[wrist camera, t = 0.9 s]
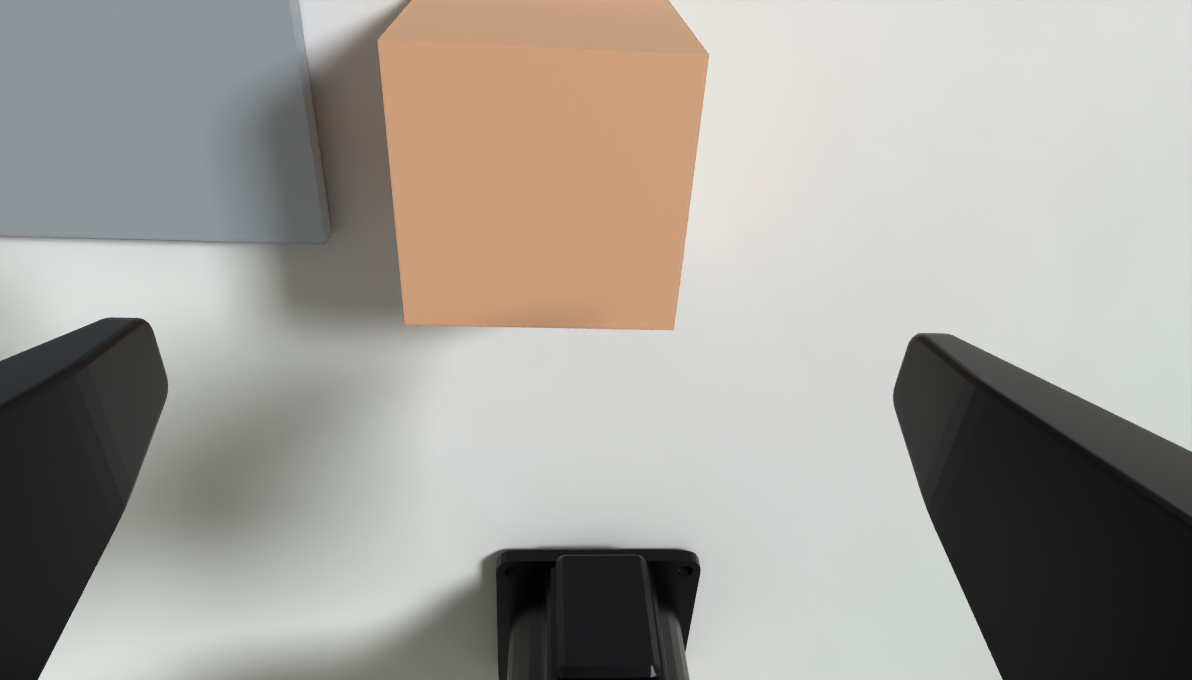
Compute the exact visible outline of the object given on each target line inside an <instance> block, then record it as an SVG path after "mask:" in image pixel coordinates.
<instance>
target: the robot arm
mask: <svg viewBox="0 0 1192 680" xmlns="http://www.w3.org/2000/svg"><path fill="white" fill-rule="evenodd" d="M167 393H168V380H167V375H166V372H165V368H164V365H163V362H162V358H161V355H160V352H159V348H158V345H157V342H156V338H155V335H154V332H153V330H152V327H151V326H150V324H149V323H148V322H146V321H145V320H143V319H140V318H105V319H102V320H99V321H97V322H94V323H92V324H89V325H87V326H85V327H82V328H80V329H77V330H75V331H72V332H70V333H68V334H65V335H63V336H60V337H58V338H55V339H53V340H51V341H48V342H46V343H43V344H41V345H38V346H36V347H34V348H31V349H29V350H26V351H24V352H21V353H19V354H17V355H14V356H12V357H9V358H7V359H4V360H2V361H0V680H38V678H39V676H40V674H41V673H42V671H43V669H44V667H45V665H46V663H47V661H48V659H49V657H50V655H51V653H52V651H53V649H54V647H55V645H56V643H57V641H58V639H59V637H60V636H61V634H62V632H63V630H64V628H65V626H66V624H67V622H68V620H69V618H70V616H71V614H72V612H73V610H74V608H75V606H76V604H77V602H78V600H79V599H80V597H81V595H82V593H83V591H84V589H85V587H86V585H87V583H88V581H89V579H90V577H91V575H92V573H93V571H94V569H95V567H96V565H97V563H98V561H99V560H100V558H101V556H102V554H103V552H104V550H105V548H106V546H107V544H108V542H109V540H110V538H111V536H112V534H113V532H114V530H115V528H116V526H117V524H118V522H119V520H120V518H121V516H122V514H123V512H124V510H125V508H126V505H127V503H128V500H129V498H130V495H131V493H132V491H133V488H134V485H135V483H136V480H137V477H138V474H139V472H140V469H141V466H142V464H143V461H144V458H145V455H146V453H147V450H148V447H149V445H150V442H151V439H152V436H153V434H154V431H155V428H156V426H157V423H158V420H159V417H160V415H161V412H162V409H163V407H164V404H165V401H166V398H167ZM893 402H894V408H895V411H896V415H897V418H898V421H899V424H900V427H901V430H902V434H903V437H904V440H905V443H906V446H907V450H908V453H909V456H910V459H911V462H912V465H913V469H914V472H915V475H916V478H917V481H918V485H919V488H920V491H921V494H922V497H923V500H924V502H925V505H926V508H927V511H928V513H929V515H930V518H931V520H932V523H933V525H934V527H935V530H936V532H937V534H938V536H939V539H940V541H941V543H942V545H943V547H944V550H945V552H946V554H947V556H948V559H949V561H950V563H951V565H952V568H953V570H954V572H955V574H956V576H957V579H958V581H959V583H960V585H961V588H962V590H963V592H964V594H965V597H966V599H967V601H968V603H969V606H970V608H971V610H972V612H973V614H974V617H975V619H976V621H977V623H978V626H979V628H980V630H981V632H982V635H983V637H984V639H985V641H986V643H987V646H988V648H989V650H990V652H991V655H992V657H993V659H994V661H995V664H996V666H997V668H998V670H999V672H1000V675H1001V677H1002V679H1003V680H1192V452H1191V451H1189V450H1187V449H1185V448H1183V447H1181V446H1179V445H1177V444H1175V443H1173V442H1170V441H1168V440H1166V439H1164V438H1162V437H1160V436H1158V435H1156V434H1154V433H1152V432H1150V431H1148V430H1146V429H1144V428H1142V427H1140V426H1138V425H1136V424H1134V423H1131V422H1129V421H1127V420H1125V419H1123V418H1121V417H1119V416H1117V415H1115V414H1113V413H1111V412H1109V411H1107V410H1105V409H1103V408H1101V407H1099V406H1097V405H1095V404H1092V403H1090V402H1088V401H1086V400H1084V399H1082V398H1080V397H1078V396H1076V395H1074V394H1072V393H1070V392H1068V391H1066V390H1064V389H1062V388H1060V387H1058V386H1056V385H1053V384H1051V383H1049V382H1047V381H1045V380H1043V379H1041V378H1039V377H1037V376H1035V375H1033V374H1031V373H1029V372H1027V371H1025V370H1023V369H1021V368H1019V367H1017V366H1014V365H1012V364H1010V363H1008V362H1006V361H1004V360H1002V359H1000V358H998V357H996V356H994V355H992V354H990V353H988V352H986V351H984V350H982V349H980V348H978V347H975V346H973V345H971V344H969V343H967V342H965V341H963V340H961V339H959V338H957V337H955V336H953V335H950V334H945V333H919V334H917V335H915V336H914V337H912V339H911V340H910V342H909V344H908V346H907V350H906V353H905V356H904V359H903V362H902V365H901V368H900V371H899V374H898V377H897V380H896V384H895V387H894V393H893ZM512 566H513V568H512ZM682 566H684V567H682ZM699 577H700V564H699V559H698V557H697V555H696V554H695V553H693V552H691V551H510V552H506V553H503V554H501V555H500V556H499V558H498V560H497V568H496V583H497V627H498V671H499V680H690V679H689V674H688V668H687V662H686V656H685V651H686V645H687V640H688V635H689V630H690V624H691V619H692V614H693V608H694V603H695V598H696V592H697V587H698V582H699Z"/></svg>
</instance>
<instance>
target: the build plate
mask: <svg viewBox="0 0 1192 680" xmlns="http://www.w3.org/2000/svg"><path fill="white" fill-rule="evenodd" d="M331 233H332V231H331V224H330V217H329V210H328V203H327V196H326V189H325V182H324V175H323V168H322V161H321V154H320V148H319V141H318V134H317V127H316V120H315V113H314V106H313V99H312V92H311V85H310V78H309V71H308V64H307V57H306V50H305V43H304V36H303V29H302V22H301V15H300V8H299V1H298V0H0V236H38V237H76V238H114V239H153V240H191V241H229V242H268V243H306V244H326V242H327V241H328V239H329V237H330V235H331Z"/></svg>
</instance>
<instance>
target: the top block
mask: <svg viewBox="0 0 1192 680" xmlns="http://www.w3.org/2000/svg"><path fill="white" fill-rule="evenodd" d="M378 51H379V61H380V72H381V82H382V93H383V103H384V114H385V124H386V135H387V145H388V156H389V166H390V177H391V187H392V197H393V208H394V218H395V229H396V239H397V250H398V260H399V271H400V281H401V292H402V302H403V313H404V323H405V325H423V326H478V327H532V328H586V329H640V330H674V324H675V316H676V308H677V301H678V293H679V285H680V277H681V269H682V262H683V254H684V246H685V238H686V230H687V223H688V215H689V207H690V199H691V191H692V184H693V176H694V168H695V160H696V152H697V145H698V137H699V129H700V121H701V113H702V106H703V98H704V90H705V82H706V74H707V67H708V59H709V54H708V53H707V51H706V50H705V48H704V47H703V46H702V44H701V43H700V42H699V40H698V39H697V38H696V36H695V35H694V34H693V32H692V31H691V30H690V28H689V27H688V26H687V24H686V23H685V22H684V20H683V19H682V18H681V16H680V15H679V14H678V12H677V11H676V9H675V8H674V7H673V5H672V4H671V3H670V1H669V0H411V1H410V2H409V4H408V5H407V6H406V7H405V8H404V9H403V11H402V12H401V13H400V14H399V15H398V16H397V18H396V19H395V20H394V21H393V22H392V23H391V25H390V26H389V27H388V28H387V29H386V30H385V32H384V33H383V34H382V35H381V36H380V37H379V39H378Z"/></svg>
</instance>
